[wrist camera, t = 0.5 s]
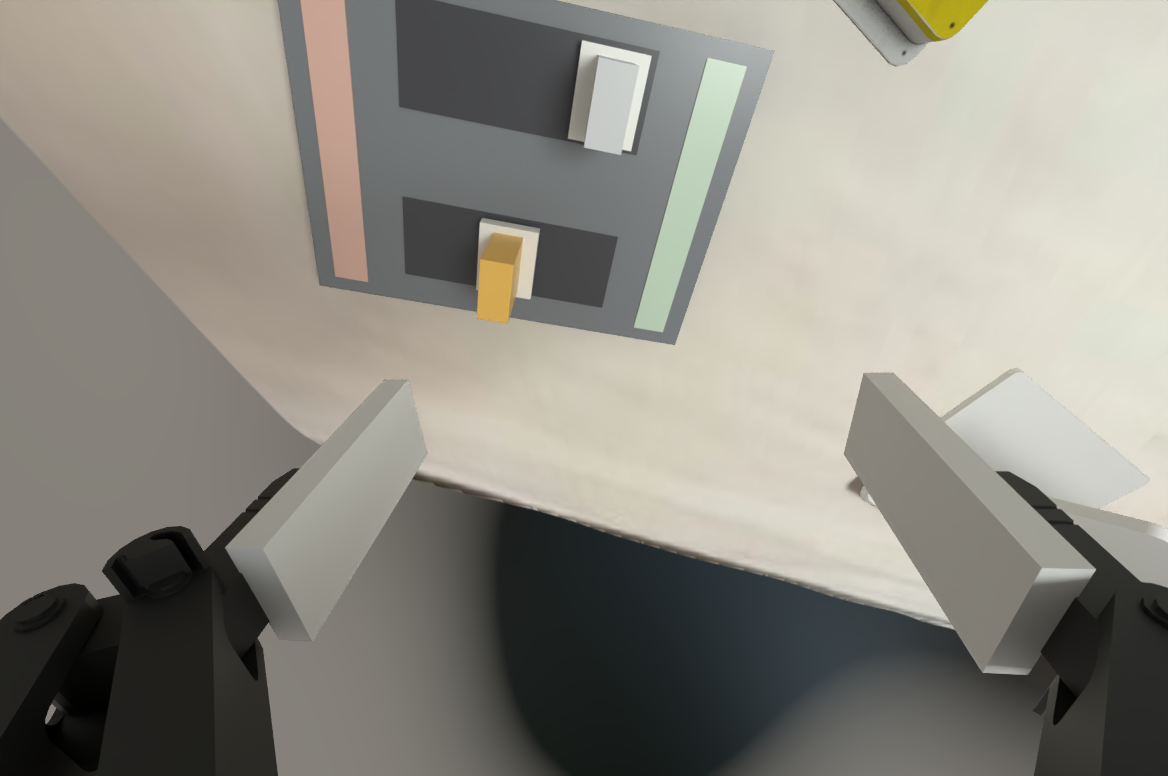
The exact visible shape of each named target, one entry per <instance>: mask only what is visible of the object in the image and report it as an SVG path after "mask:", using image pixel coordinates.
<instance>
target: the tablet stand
mask: <svg viewBox="0 0 1168 776" xmlns="http://www.w3.org/2000/svg"><path fill="white" fill-rule="evenodd" d="M941 419H942V420H943V421H944V422H945V423H946V424H947V425H948V426H949V427H950V428H951V429H952V430H953V431H954V432H955V433H956V434H957V435H958V436H959V437H960V438H961V439H962V440H963V441H964V442H965V443H966V444H967V445H968V446H969V447H971V448H972V449H973V450H974V451H975V452H976V453H977V454H978V455H979V456H980V457H981V458H982V459H983V460H984V461H985V462H986V463H987V464H988V465H989V466H990V467H991V468H992V469H993V470H994V471H1009V472H1011V473H1013V474H1015V475H1016V476H1018V477H1020V478H1022V479H1023V480H1025V481H1027V482H1029V483H1030V484H1032V485H1034V486H1036V487H1037V488H1038V489H1039V490H1040V491H1042V492H1043V493H1044V494H1045V495H1046V496H1047V497H1048V498H1049V499H1050V500H1052V501H1053V502H1054V503H1055V504H1056V505H1057V509H1061V510H1063V511H1064V512H1065V513H1066V514H1067V515H1068V516H1069V517H1070V518H1071V519H1072V520H1074V524H1075V525H1079V526H1080V527H1081V528H1082V529H1083V530H1085V531H1086V532H1087V533H1088V534H1089V535H1090V536H1091V537H1092V538H1093V539H1094V540H1096V541H1097V542H1098V543H1099V544H1100V545H1101V546H1102V547H1103V548H1104V549H1105V550H1107V551H1108V552H1109V553H1110V554H1111V555H1112V556H1113V557H1114V558H1115V559H1116V560H1118V561H1119V562H1120V563H1121V564H1122V565H1123V566H1124V567H1125V568H1126V569H1127V570H1129V571H1130V572H1131V573H1132V574H1133V575H1134V576H1135V577H1136V578H1137V579H1138V580H1140V581H1141V582H1147V583H1154V584H1157V585H1161V586H1164V587H1167V588H1168V528H1166V527H1164V526H1161V525H1158V524H1155V523H1151V522H1147V521H1143V520H1139V519H1135V518H1131V517H1127V516H1123V515H1119V514H1115V513H1111V512H1108V511H1104V510H1100V509H1099V508H1101V507H1103V506H1105V505H1107V504H1108V503H1110V502H1112V501H1114V500H1116V499H1118V498H1120V497H1122V496H1124V495H1126V494H1128V493H1130V492H1132V491H1134V490H1136V489H1138V488H1140V487H1142V486H1144V485H1146V484H1147V483H1148V482H1149V481H1150V478H1149V477H1148V476H1146V475H1145V474H1144V473H1143V472H1142V471H1140V470H1139V469H1138V468H1137V467H1136V466H1135V465H1133V464H1132V463H1131V462H1130V461H1129V460H1127V459H1126V458H1125V457H1124V456H1123V455H1122V454H1120V453H1119V452H1118V451H1117V450H1116V449H1114V448H1113V447H1112V446H1111V445H1110V444H1109V443H1107V442H1106V441H1105V440H1104V439H1103V438H1101V437H1100V436H1099V435H1098V434H1097V433H1096V432H1094V431H1093V430H1092V429H1091V428H1090V427H1088V426H1087V425H1086V424H1085V423H1084V422H1083V421H1081V420H1080V419H1079V418H1078V417H1077V416H1075V415H1074V414H1073V413H1072V412H1071V411H1069V410H1068V409H1067V408H1066V407H1065V406H1064V405H1062V404H1061V403H1060V402H1059V401H1058V400H1056V399H1055V398H1054V397H1053V396H1052V395H1051V394H1049V393H1048V392H1047V391H1046V390H1045V389H1043V388H1042V387H1041V386H1040V385H1039V384H1038V383H1036V382H1035V381H1034V380H1033V379H1032V378H1030V377H1029V376H1028V375H1027V374H1026V373H1024V372H1023V371H1022V370H1020V369H1018V368H1014V369H1010V370H1008V371H1007V372H1005V373H1004V374H1002V375H1001V376H999V377H998V378H997V379H995V380H994V381H992V382H991V383H989V384H988V385H987V386H985V387H984V388H982V389H981V390H979V391H978V392H977V393H975V394H974V395H972V396H971V397H969V398H968V399H967V400H965V401H964V402H962V403H961V404H960V405H958V406H957V407H955V408H954V409H952V410H951V411H950V412H948V413H947V414H945V415H944V416H942V417H941ZM860 496H861V498H862V499H863V500H864V501H866V502H868V503H870V504H871V505H873V506H875V507H876V508H878V507H877V505H876V504H875V502H874V501H873V499H872V498H871V496H870V494H869V493H868V491H867V490H866V488H865V486H864V485H863V487H862V489H861V492H860Z"/></svg>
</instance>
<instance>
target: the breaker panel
mask: <svg viewBox="0 0 1168 776" xmlns="http://www.w3.org/2000/svg"><path fill="white" fill-rule="evenodd" d="M278 6H279V12H280V19H281V26H282V33H283V40H284V46H285V53H286V60H287V67H288V73H289V80H290V87H291V94H292V100H293V107H294V114H295V121H296V127H297V134H298V141H299V148H300V155H301V161H302V168H303V175H304V182H305V188H306V195H307V202H308V209H309V215H310V222H311V229H312V236H313V242H314V249H315V256H316V263H317V270H318V276H319V283H320V285H322V286H327V287H333V288H339V289H345V290H351V291H357V292H363V293H369V294H375V295H381V296H387V297H393V298H399V299H405V300H411V301H417V302H422V303H428V304H434V305H440V306H446V307H452V308H458V309H464V310H470V311H476V312H477V305H478V290H476V281H477V263H478V245H479V227H480V221H481V219H482V218H486V219H492V220H497V221H502V222H508V223H513V224H518V225H524V226H529V227H535V228H540V234H539V241H538V249H537V257H536V265H535V272H534V280H533V288H532V295H531V299H524V298H518V297H516V298H515V301H514V304H513V308H512V311H511V314H510V317H511V318H517V319H523V320H529V321H535V322H541V323H547V324H553V325H559V326H565V327H571V328H577V329H583V330H589V331H595V332H601V333H606V334H612V335H618V336H624V337H630V338H636V339H642V340H648V341H654V342H660V343H666V344H672V345H675V343H676V340H677V337H678V334H679V331H680V328H681V325H682V322H683V319H684V316H685V313H686V310H687V308H688V305H689V302H690V299H691V296H692V293H693V290H694V287H695V284H696V281H697V278H698V275H699V272H700V269H701V266H702V263H703V260H704V257H705V254H706V252H707V249H708V246H709V243H710V240H711V237H712V234H713V231H714V228H715V225H716V222H717V219H718V216H719V213H720V210H721V207H722V204H723V201H724V199H725V196H726V193H727V190H728V187H729V184H730V181H731V178H732V175H733V172H734V169H735V166H736V163H737V160H738V157H739V154H740V151H741V148H742V145H743V143H744V140H745V137H746V134H747V131H748V128H749V125H750V122H751V119H752V116H753V113H754V110H755V107H756V104H757V101H758V98H759V95H760V92H761V90H762V87H763V84H764V81H765V78H766V75H767V72H768V69H769V66H770V63H771V60H772V57H773V54H774V51H773V50H768V49H764V48H760V47H755V46H751V45H747V44H743V43H738V42H734V41H730V40H725V39H721V38H717V37H712V36H708V35H704V34H699V33H695V32H691V31H686V30H682V29H678V28H673V27H669V26H665V25H661V24H656V23H652V22H648V21H643V20H639V19H635V18H630V17H626V16H622V15H617V14H613V13H609V12H604V11H600V10H596V9H591V8H587V7H583V6H579V5H574V4H570V3H566V2H561V1H557V0H278Z"/></svg>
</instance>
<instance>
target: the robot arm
mask: <svg viewBox="0 0 1168 776" xmlns="http://www.w3.org/2000/svg"><path fill="white" fill-rule="evenodd" d="M427 454H428V452H427V448H426V444H425V440H424V437H423V433H422V429H421V426H420V422H419V418H418V414H417V411H416V407H415V403H414V399H413V396H412V392H411V388H410V384H409V381H408V380H384V381H383V382H382V383H381V384H380V385H379V386H378V387H377V388H376V389H375V390H374V391H373V392H372V393H371V394H370V395H369V396H368V398H367V399H366V400H365V401H364V402H363V403H362V404H361V405H360V406H359V407H358V408H357V409H356V410H355V411H354V412H353V413H352V414H351V415H350V416H349V418H348V419H347V420H346V421H345V422H344V423H343V424H342V425H341V426H340V427H339V428H338V429H337V430H336V431H335V432H334V433H333V434H332V435H331V436H330V438H329V439H328V440H327V441H326V442H325V443H324V444H323V445H322V446H321V447H320V448H319V449H318V450H317V451H316V452H315V453H314V454H313V455H312V456H311V458H310V459H309V460H308V461H307V462H306V463H305V464H304V465H303V466H302V467H301V468H300V469H295V468H294V469H292V470H291V471H289V472H287V473H286V474H284V475H283V476H281V477H280V478H278V479H276V480H275V481H273V482H272V483H271V484H270V485H269V486H268V487H267V488H266V489H265V490H264V491H263V492H262V493H261V494H260V495H259V496H258V500H254V501H253V502H252V503H251V504H250V506H248V507H247V509H246V512H245V513H244V512H243V513H242V514H240V515H239V516H238V518H237V519H236V520H235V521H234V522H233V523H232V524H231V525H230V526H229V527H228V528H227V529H226V530H225V531H224V532H223V533H222V534H221V535H220V536H219V537H218V538H217V539H216V540H215V541H214V542H213V543H212V544H211V545H210V546H209V547H208V548H207V549H206V550H205V551H203V550H202V548H201V546H200V545H199V543H198V542H197V540H196V538H195V537H194V535H193V533H192V532H191V530H190V529H188V528H185V527H182V526H177V527H166V528H163V529H159V530H156V531H152V532H150V533H148V534H146V535H144V536H141V537H139V538H137V539H135V540H133V541H132V542H130V543H129V544H127V545H126V546H124V547H122V548H121V549H119V551H118V552H116V553H115V554H114V555H113V556H112V557H111V558H110V559H109V560H108V561H107V563H106V565H105V566H104V568H103V570H102V572H103V573H104V574H105V575H106V577H107V578H108V579H109V580H110V582H111V583H112V584H113V585H114V587H115V588H116V589H117V591H118V592H119V593H120V595H116V596H111V597H107V598H102V599H98V600H96V599H95V598H94V596H93V595H92V594H91V593H90V591H88V589H87V588H86V587H85V586H84V585H80V584H75V583H74V584H68V585H62V586H58V587H55V588H52V589H50V590H47V591H44V592H41V593H39V594H37V595H35V596H34V597H32V598H29V599H27V600H26V601H24V602H22V603H21V604H20V605H19V606H17V607H16V608H14V609H13V610H12V611H10V612H9V613H7V614H6V615H5V616H4V617H3V618H2V619H1V620H0V776H278V772H277V764H276V755H275V747H274V739H273V730H272V721H271V713H270V704H269V696H268V687H267V679H266V671H265V662H264V654H263V648H262V646H261V644H260V642H259V640H258V636H259V635H260V633H261V632H262V631H263V629H264V628H265V626H266V625H267V624H268V622H269V624H270V625H271V627H272V629H273V631H274V632H275V634H276V636H277V637H278V639H279V640H291V641H313V640H314V638H315V637H316V635H317V634H318V632H319V630H320V629H321V627H322V625H323V624H324V622H325V620H326V619H327V617H328V616H329V614H330V612H331V611H332V609H333V607H334V606H335V604H336V602H337V601H338V599H339V598H340V596H341V594H342V593H343V591H344V589H345V588H346V586H347V584H348V583H349V581H350V579H351V578H352V576H353V575H354V573H355V571H356V570H357V568H358V566H359V565H360V563H361V561H362V560H363V558H364V557H365V555H366V553H367V552H368V550H369V548H370V547H371V545H372V543H373V542H374V540H375V538H376V537H377V535H378V534H379V532H380V530H381V529H382V527H383V525H384V524H385V522H386V521H387V519H388V517H389V516H390V514H391V512H392V511H393V509H394V508H395V506H396V504H397V503H398V501H399V499H400V498H401V496H402V494H403V493H404V491H405V490H406V488H407V486H408V484H409V483H410V481H411V480H412V478H413V476H414V475H415V473H416V472H417V470H418V468H419V467H420V465H421V463H422V462H423V460H424V458H425V457H426V455H427ZM844 455H845V456H846V458H847V460H848V461H849V463H850V464H851V466H852V468H853V469H854V471H855V472H856V474H857V475H858V477H859V479H860V480H861V482H862V483H863V485H864V486H865V488H866V490H867V491H868V493H869V494H870V496H871V498H872V499H873V501H874V502H875V504H876V505H877V507H878V509H879V510H880V512H881V513H882V515H883V516H884V518H885V520H886V521H887V523H888V524H889V526H890V528H891V529H892V531H893V532H894V534H895V535H896V537H897V539H898V540H899V542H900V543H901V545H902V546H903V548H904V550H905V551H906V553H907V554H908V556H909V557H910V559H911V561H912V562H913V564H914V565H915V567H916V569H917V570H918V572H919V573H920V575H921V576H922V578H923V580H924V581H925V583H926V584H927V586H928V587H929V589H930V591H931V592H932V594H933V595H934V597H935V599H936V600H937V602H938V603H939V605H940V606H941V608H942V610H943V611H944V613H945V614H946V616H947V617H948V619H949V621H950V622H951V624H952V625H953V627H954V629H955V630H956V632H957V633H958V635H959V636H960V638H961V640H962V641H963V643H964V644H965V646H966V647H967V649H968V651H969V652H970V654H971V655H972V657H973V658H974V660H975V662H976V663H977V665H978V666H979V668H980V669H981V671H982V672H983V673H1002V674H1023V675H1024V674H1025V675H1028V674H1029V672H1030V671H1031V669H1032V668H1033V666H1034V665H1035V663H1036V662H1037V660H1038V659H1039V657H1040V656H1041V654H1043V656H1044V657H1045V658H1046V659H1047V661H1048V662H1049V664H1050V665H1051V666H1052V668H1053V669H1054V670H1055V671H1056V673H1057V674H1058V675H1057V676H1056V678H1055V679H1054V681H1053V682H1052V684H1051V685H1050V686H1049V688H1048V689H1047V691H1046V692H1045V694H1044V695H1043V696H1042V698H1041V699H1040V701H1039V702H1038V704H1037V705H1036V707H1035V708H1034V710H1033V711H1034V712H1036V713H1038V714H1040V715H1041V714H1042V713H1043V712H1044V711H1045V709H1046V711H1045V717H1044V722H1043V728H1042V733H1041V739H1040V744H1039V750H1038V756H1037V762H1036V767H1035V773H1034V776H1168V588H1167V587H1164V586H1161V585H1157V584H1154V583H1147V582H1141V581H1140V580H1138V579H1137V578H1136V577H1135V576H1134V575H1133V574H1132V573H1131V572H1130V571H1129V570H1127V569H1126V568H1125V567H1124V566H1123V565H1122V564H1121V563H1120V562H1119V561H1118V560H1116V559H1115V558H1114V557H1113V556H1112V555H1111V554H1110V553H1109V552H1108V551H1107V550H1105V549H1104V548H1103V547H1102V546H1101V545H1100V544H1099V543H1098V542H1097V541H1096V540H1094V539H1093V538H1092V537H1091V536H1090V535H1089V534H1088V533H1087V532H1086V531H1085V530H1083V529H1082V528H1081V527H1080V526H1079V525H1075V524H1074V520H1072V519H1071V518H1070V517H1069V516H1068V515H1067V514H1066V513H1065V512H1064V511H1063V510H1061V509H1057V505H1056V504H1055V503H1054V502H1053V501H1052V500H1050V499H1049V498H1048V497H1047V496H1046V495H1045V494H1044V493H1043V492H1042V491H1040V490H1039V489H1038V488H1037V487H1036V486H1034V485H1032V484H1030V483H1029V482H1027V481H1025V480H1023V479H1022V478H1020V477H1018V476H1016V475H1015V474H1013V473H1011V472H1009V471H994V470H993V469H992V468H991V467H990V466H989V465H988V464H987V463H986V462H985V461H984V460H983V459H982V458H981V457H980V456H979V455H978V454H977V453H976V452H975V451H974V450H973V449H972V448H971V447H969V446H968V445H967V444H966V443H965V442H964V441H963V440H962V439H961V438H960V437H959V436H958V435H957V434H956V433H955V432H954V431H953V430H952V429H951V428H950V427H949V426H948V425H947V424H946V423H945V422H944V421H943V420H942V419H941V418H940V417H939V416H937V415H936V414H935V413H934V412H933V411H932V410H931V409H930V408H929V407H928V406H927V405H926V404H925V403H924V402H923V401H922V400H921V399H920V398H919V397H918V396H917V395H916V394H915V393H914V392H913V391H912V390H911V389H910V388H909V387H908V386H907V385H905V384H904V383H903V382H902V381H901V380H900V379H899V378H898V377H897V376H896V375H895V374H894V373H864V374H863V378H862V382H861V386H860V390H859V394H858V398H857V402H856V406H855V411H854V415H853V419H852V423H851V427H850V431H849V435H848V439H847V443H846V447H845V451H844ZM51 703H52V704H53V705H54V706H55V707H56V710H55V712H54V714H53V716H52V718H51V719H50V721H49V722H48V723H47V724H45V718H46V715H47V712H48V709H49V707H50V705H51Z"/></svg>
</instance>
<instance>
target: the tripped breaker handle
mask: <svg viewBox="0 0 1168 776" xmlns="http://www.w3.org/2000/svg"><path fill="white" fill-rule="evenodd" d="M539 234H540V228H535V227H529V226H524V225H518V224H513V223H508V222H502V221H497V220H492V219H486V218H482V219H481V221H480V227H479V245H478V263H477V281H476V290H478V305H477V318H478V319H484V320H490V321H496V322H501V323H507V324H508V321H509V318H510V314H511V311H512V308H513V304H514V301H515V298H516V297H518V298H524V299H531V295H532V288H533V280H534V272H535V265H536V257H537V249H538V241H539Z"/></svg>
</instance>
